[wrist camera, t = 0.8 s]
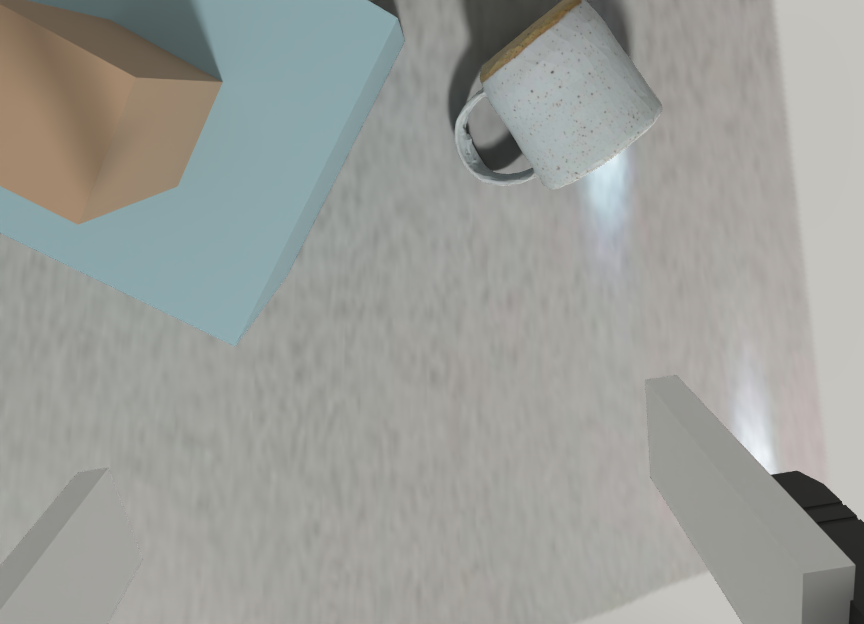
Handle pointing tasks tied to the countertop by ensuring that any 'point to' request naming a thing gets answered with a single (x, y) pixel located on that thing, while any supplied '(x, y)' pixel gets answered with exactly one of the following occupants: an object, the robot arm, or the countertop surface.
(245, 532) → the countertop surface
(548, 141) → the ceramic mug
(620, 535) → the countertop surface
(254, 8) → the pale blue storage box
